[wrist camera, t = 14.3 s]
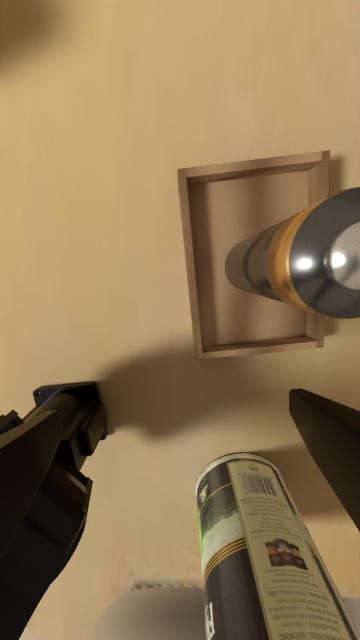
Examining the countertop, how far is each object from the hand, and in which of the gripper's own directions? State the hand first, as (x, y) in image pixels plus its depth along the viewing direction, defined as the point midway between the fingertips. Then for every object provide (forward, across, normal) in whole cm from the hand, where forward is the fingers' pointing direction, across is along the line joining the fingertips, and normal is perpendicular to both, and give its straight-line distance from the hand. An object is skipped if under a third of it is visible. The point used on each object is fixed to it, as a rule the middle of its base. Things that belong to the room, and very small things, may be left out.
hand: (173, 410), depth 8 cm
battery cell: (+12, -7, -5) cm, 15 cm away
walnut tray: (+13, -7, -5) cm, 16 cm away
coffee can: (+13, -5, +20) cm, 24 cm away
